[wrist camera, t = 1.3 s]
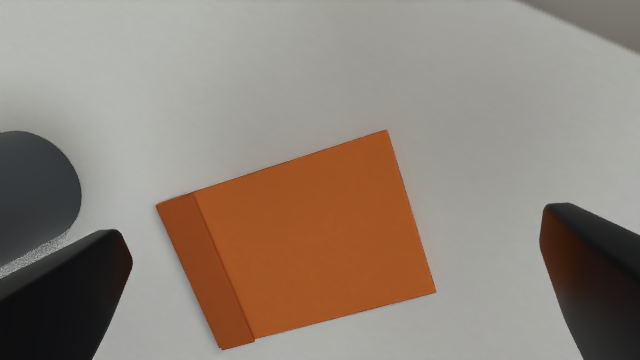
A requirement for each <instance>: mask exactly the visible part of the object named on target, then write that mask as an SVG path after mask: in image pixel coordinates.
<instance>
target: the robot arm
mask: <svg viewBox="0 0 640 360" xmlns="http://www.w3.org/2000/svg"><path fill="white" fill-rule="evenodd" d="M539 244H540V250H541V253H542V256H543V259H544V262H545V265H546V268H547V271H548V273H549V276H550V279H551V282H552V285H553V288H554V291H555V294H556V297H557V300H558V302H559V305H560V308H561V311H562V314H563V316H564V319H565V321H566V324H567V326H568V328H569V330H570V332H571V335H572V337H573V339H574V341H575V343H576V345H577V347H578V349H579V351H580V353H581V355H582V357H583V359H584V360H640V235H638V234H636V233H634V232H632V231H630V230H627V229H625V228H623V227H621V226H619V225H617V224H614V223H612V222H610V221H608V220H606V219H604V218H602V217H599V216H597V215H595V214H593V213H591V212H589V211H587V210H584V209H582V208H580V207H578V206H576V205H574V204H571V203H552V204H547V205H546V206H545V208H544V210H543V216H542V223H541V231H540V239H539ZM132 265H133V260H132V256H131V254H130V252H129V249H128V247H127V245H126V243H125V241H124V238H123V236H122V234H121V233H120V232H119V231H118V230H116V229H109V230H99V231H96V232H94V233H92V234H90V235H88V236H86V237H84V238H82V239H80V240H78V241H76V242H74V243H72V244H70V245H68V246H66V247H64V248H62V249H60V250H58V251H56V252H54V253H52V254H50V255H48V256H46V257H44V258H42V259H40V260H38V261H36V262H34V263H32V264H30V265H28V266H26V267H24V268H22V269H20V270H18V271H16V272H14V273H12V274H9V275H7V276H5V277H3V278H1V279H0V360H92V359H93V357H94V355H95V353H96V351H97V349H98V347H99V345H100V343H101V341H102V339H103V337H104V335H105V333H106V331H107V329H108V327H109V324H110V322H111V320H112V317H113V315H114V312H115V310H116V307H117V305H118V302H119V300H120V297H121V295H122V292H123V290H124V287H125V285H126V282H127V280H128V277H129V275H130V272H131V270H132Z"/></svg>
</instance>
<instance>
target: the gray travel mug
mask: <svg viewBox="0 0 640 360" xmlns="http://www.w3.org/2000/svg"><path fill="white" fill-rule="evenodd" d="M80 205H81V188H80V183H79V180H78V177H77V174H76V172H75V170H74V168H73V166H72V164H71V163H70V161H69V160H68V159H67V157H66V156H65V155H64V154H63V153H62V152H61V151H60V150H59V149H58V148H57V147H56V146H55V145H53V144H52V143H50V142H49V141H47V140H46V139H44V138H42V137H40V136H37V135H34V134H32V133H27V132H22V131H9V132H3V133H0V268H1V267H2V266H4V265H6V264H8V263H10V262H11V261H13V260H15V259H17V258H19V257H21V256H22V255H24V254H26V253H28V252H30V251H31V250H33V249H35V248H37V247H39V246H41V245H42V244H44V243H46V242H48V241H50V240H51V239H53V238H55V237H57V236H59V235H60V234H62V233H63V232H65V231H66V230H67V229H68V228H69V227H70V226H71V225H72V224H73V222H74V221H75V219H76V217H77V215H78V212H79V209H80Z"/></svg>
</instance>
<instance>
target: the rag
mask: <svg viewBox="0 0 640 360" xmlns="http://www.w3.org/2000/svg"><path fill="white" fill-rule="evenodd" d="M156 208H157V210H158V213H159V215H160V217H161V219H162V221H163V224H164V226H165V228H166V230H167V233H168V235H169V237H170V239H171V241H172V244H173V246H174V248H175V250H176V253H177V255H178V257H179V259H180V262H181V264H182V266H183V268H184V270H185V273H186V275H187V277H188V279H189V282H190V284H191V286H192V288H193V291H194V293H195V295H196V297H197V299H198V302H199V304H200V306H201V308H202V311H203V313H204V315H205V317H206V319H207V322H208V324H209V326H210V328H211V331H212V333H213V335H214V337H215V340H216V342H217V344H218V346H219V348H221V349H222V350H225V349H229V348H233V347H237V346H240V345H244V344H248V343H252V342H254V341H255V339H257V338H261V337H265V336H268V335H272V334H276V333H280V332H284V331H288V330H292V329H296V328H300V327H303V326H307V325H311V324H315V323H319V322H323V321H327V320H331V319H335V318H338V317H342V316H346V315H350V314H354V313H358V312H362V311H366V310H370V309H373V308H377V307H381V306H385V305H389V304H393V303H397V302H401V301H405V300H408V299H412V298H416V297H420V296H424V295H428V294H432V293H436V290H435V286H434V283H433V280H432V276H431V273H430V270H429V267H428V263H427V260H426V257H425V253H424V250H423V247H422V243H421V240H420V237H419V234H418V230H417V227H416V224H415V220H414V217H413V214H412V210H411V207H410V204H409V201H408V197H407V194H406V191H405V187H404V184H403V181H402V177H401V174H400V171H399V168H398V164H397V161H396V158H395V154H394V151H393V148H392V145H391V141H390V138H389V135H388V131H387V130H383V131H380V132H377V133H374V134H371V135H368V136H365V137H362V138H359V139H356V140H353V141H350V142H346V143H343V144H340V145H337V146H334V147H331V148H328V149H325V150H322V151H319V152H316V153H312V154H309V155H306V156H303V157H300V158H297V159H294V160H291V161H288V162H285V163H282V164H278V165H275V166H272V167H269V168H266V169H263V170H260V171H257V172H254V173H251V174H248V175H245V176H241V177H238V178H235V179H232V180H229V181H226V182H223V183H220V184H217V185H214V186H211V187H207V188H204V189H201V190H198V191H195V192H192V193H189V194H186V195H183V196H180V197H177V198H174V199H170V200H167V201H164V202H161V203H158V204H157V205H156Z"/></svg>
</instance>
